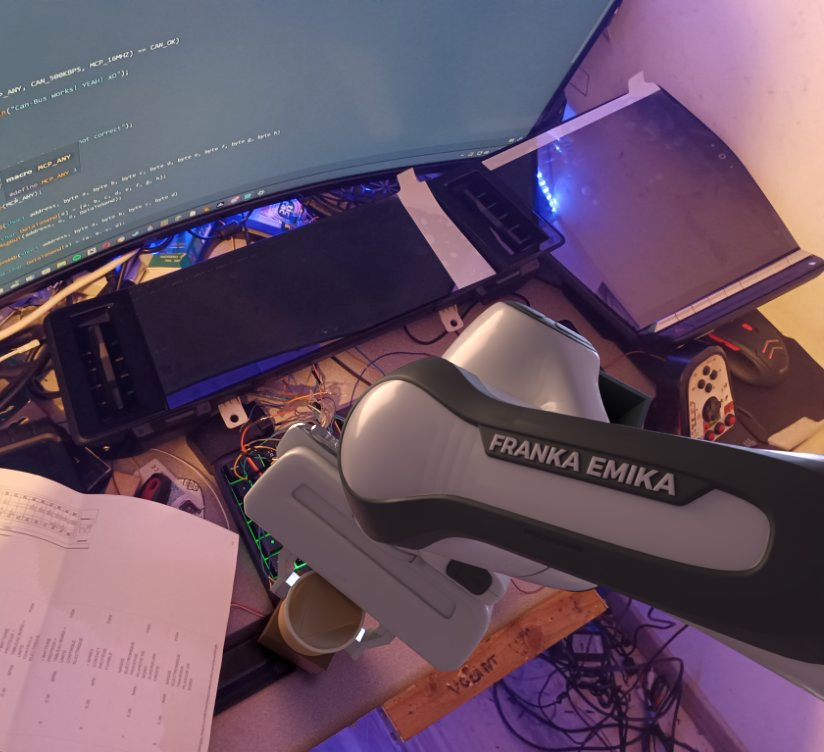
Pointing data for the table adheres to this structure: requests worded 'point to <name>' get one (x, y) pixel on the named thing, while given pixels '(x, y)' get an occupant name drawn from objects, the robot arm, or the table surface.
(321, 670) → the block
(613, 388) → the waste bin
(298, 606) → the paper cup
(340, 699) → the table surface
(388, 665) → the table surface
